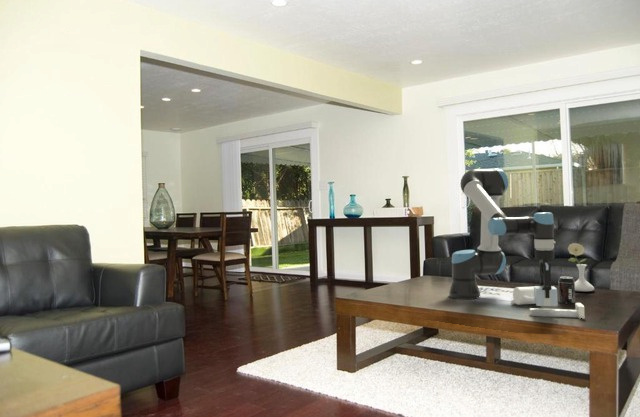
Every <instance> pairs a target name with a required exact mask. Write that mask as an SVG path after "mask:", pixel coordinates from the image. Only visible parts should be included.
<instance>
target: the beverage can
mask: <svg viewBox="0 0 640 417" xmlns="http://www.w3.org/2000/svg"><path fill="white" fill-rule="evenodd" d="M575 282H576V281H575V279H574V277H573V276H567V275H566V276H565V275H563V276H559V278H558V283H557V284H558V301H559V302H560V303H561V304H564V305H565V304H566V305H571V304H573V303H576V291H575Z"/></svg>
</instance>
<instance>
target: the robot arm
mask: <svg viewBox="0 0 640 417" xmlns="http://www.w3.org/2000/svg"><path fill="white" fill-rule="evenodd" d="M508 188H509V178H508V175H507V174H506V172H505V171H504V170H503V169H500V168H494V167H493V168H473V169H470V170H468V171H466V172H465V173H463V175H462V177H461V179H460V189H461V191H462V193H463V194H464V196H466V197H467V198H470V199H471V201H472V202H473V203H474V205H475V206H476V207H477V209H478V210H479V212H481V214H480V244H479V246H477V250H475V249H463V250H462V249H461V250H457V251H455V252H452V254H451V275H452V276H451V277H452V278H451V279H452V282H451V285H450V288H449V291H448V296H449V298H451V299H459V300H473V299H474V300H475V299H479V298H480V297H481V292H480V289H479V287H478V284H477V276H485V275H486V276H487V275H490V276H493V275H499V274H501V273H502V272H504V271H505V268H506V264H507V258H506V255H505V253H504V252H503V251H502V248H501V247H500V246H499V236H509V235H510V236H511V235H533V236H534V237H533V238H534V239H533V240H534V242H533V244H534V259H537V260H540V261H539V263H538V266H539V286H544V288H542V290H543V303H544V306H545V307H552V306H551V289H552V287H551V286H552V277H551V276H552V274H551V273H552V272H551V270H552V269H551V268H552V266H551V263H550V262H549V260H554V259H555V250H554V248H555V245H556V242H557V241H555V240H554V239H555V225H554V224H555V220H554V214H553V213H552V212H535V213H534V214H533V216H527V215H526V216H519V217H518V216H516V217H515V216H514V217H511V216H510V217H508V216H507V214H505V213H504V212H503V210H502V209H501V208H500V199H501V198H502V197H503V196H504V192H506V191H507V190H508ZM479 296H480V297H479ZM544 306H543V307H544Z"/></svg>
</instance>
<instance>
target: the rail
mask: <svg viewBox="0 0 640 417" xmlns="http://www.w3.org/2000/svg"><path fill="white" fill-rule="evenodd" d="M574 303H575V304H574V305H575V308H574V309H563V308H562V309H561V308H532V307H529V315H530V316H531V317H551V318H552V317H553V318H554V317H556V318H558V317H559V318H577V319H579V320H581V318H582V320H585V319H586V318H585V306H584V304H582V303H581V302H574Z"/></svg>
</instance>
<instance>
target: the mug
mask: <svg viewBox="0 0 640 417" xmlns="http://www.w3.org/2000/svg"><path fill="white" fill-rule="evenodd" d="M512 297H513V301H514V303H515V305H518V306H519V305H522V306H523V305H536V303H534V286H516V287H514V288H513V292H512Z"/></svg>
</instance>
